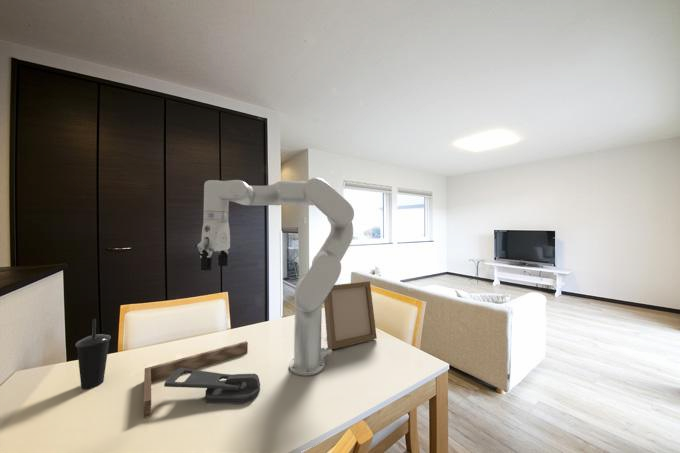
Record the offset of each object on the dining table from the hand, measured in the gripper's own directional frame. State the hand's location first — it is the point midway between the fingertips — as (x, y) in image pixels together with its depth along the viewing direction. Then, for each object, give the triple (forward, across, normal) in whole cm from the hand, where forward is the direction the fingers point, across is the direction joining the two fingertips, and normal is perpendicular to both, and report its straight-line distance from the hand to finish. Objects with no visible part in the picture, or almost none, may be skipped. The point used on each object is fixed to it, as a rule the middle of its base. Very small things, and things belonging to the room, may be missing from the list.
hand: (215, 267), depth 83 cm
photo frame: (+35, +30, -44) cm, 64 cm away
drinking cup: (+35, -9, +33) cm, 49 cm away
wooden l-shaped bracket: (+35, -2, 0) cm, 35 cm away
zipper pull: (+36, -11, -7) cm, 38 cm away
